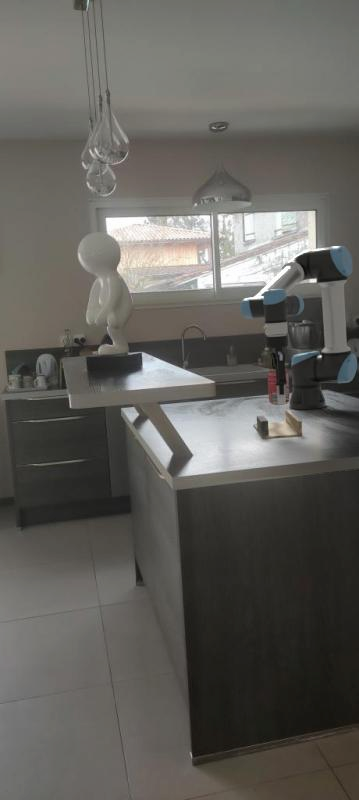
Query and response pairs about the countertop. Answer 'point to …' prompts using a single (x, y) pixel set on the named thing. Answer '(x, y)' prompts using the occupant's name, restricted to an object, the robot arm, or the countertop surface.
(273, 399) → the soda can
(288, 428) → the u-shaped channel bracket
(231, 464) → the countertop surface
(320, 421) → the countertop surface
